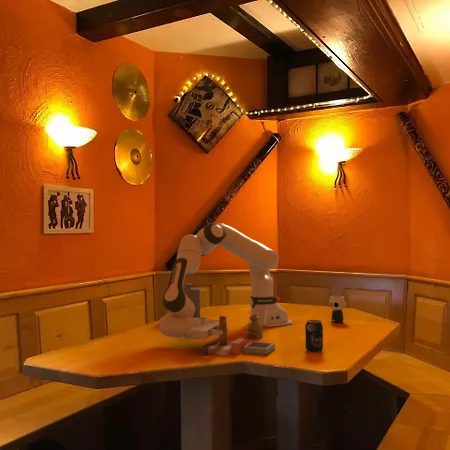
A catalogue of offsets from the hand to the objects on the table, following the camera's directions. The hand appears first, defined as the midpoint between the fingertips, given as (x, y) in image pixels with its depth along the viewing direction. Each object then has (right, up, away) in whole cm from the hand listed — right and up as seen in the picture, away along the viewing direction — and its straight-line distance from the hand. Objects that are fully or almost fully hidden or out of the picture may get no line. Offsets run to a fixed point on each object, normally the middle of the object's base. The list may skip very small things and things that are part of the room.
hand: (225, 331), depth 206 cm
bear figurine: (+58, -7, +55) cm, 81 cm away
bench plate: (-1, -8, 0) cm, 8 cm away
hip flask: (-19, -8, +61) cm, 64 cm away
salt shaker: (+13, -8, +24) cm, 29 cm away
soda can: (+36, -8, -2) cm, 37 cm away
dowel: (-1, -8, 0) cm, 8 cm away
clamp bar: (-5, -8, +2) cm, 9 cm away
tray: (+14, -8, -1) cm, 16 cm away
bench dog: (+5, -8, -2) cm, 10 cm away
